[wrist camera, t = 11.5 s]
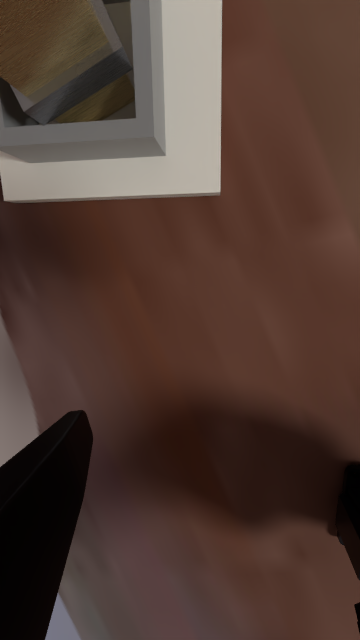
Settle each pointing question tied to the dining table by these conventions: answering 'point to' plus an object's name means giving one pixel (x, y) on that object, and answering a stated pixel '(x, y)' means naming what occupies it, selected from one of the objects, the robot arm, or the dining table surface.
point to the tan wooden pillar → (63, 60)
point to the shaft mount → (131, 117)
